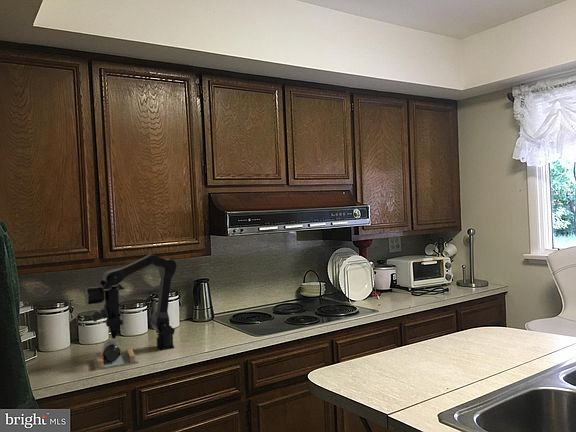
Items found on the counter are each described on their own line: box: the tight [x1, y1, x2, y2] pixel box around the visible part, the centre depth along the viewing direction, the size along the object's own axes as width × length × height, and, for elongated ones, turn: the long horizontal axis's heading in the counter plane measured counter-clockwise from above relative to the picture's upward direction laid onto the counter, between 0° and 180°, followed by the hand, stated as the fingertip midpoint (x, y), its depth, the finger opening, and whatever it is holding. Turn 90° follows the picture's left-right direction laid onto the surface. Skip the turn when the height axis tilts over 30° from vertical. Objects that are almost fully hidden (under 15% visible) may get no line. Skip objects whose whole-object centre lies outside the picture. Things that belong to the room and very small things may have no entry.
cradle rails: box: [95, 347, 136, 368], centre depth 192 cm, size 14×13×2 cm
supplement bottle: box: [101, 339, 121, 361], centre depth 193 cm, size 7×7×12 cm
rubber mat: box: [93, 353, 139, 371], centre depth 192 cm, size 16×13×1 cm
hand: (113, 338), depth 197 cm, fingers closed
